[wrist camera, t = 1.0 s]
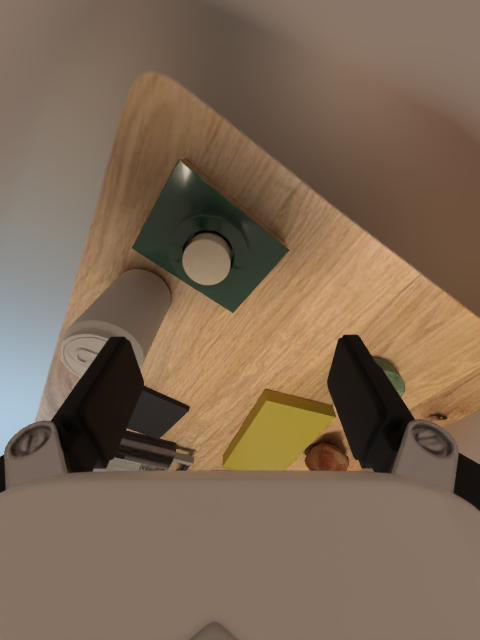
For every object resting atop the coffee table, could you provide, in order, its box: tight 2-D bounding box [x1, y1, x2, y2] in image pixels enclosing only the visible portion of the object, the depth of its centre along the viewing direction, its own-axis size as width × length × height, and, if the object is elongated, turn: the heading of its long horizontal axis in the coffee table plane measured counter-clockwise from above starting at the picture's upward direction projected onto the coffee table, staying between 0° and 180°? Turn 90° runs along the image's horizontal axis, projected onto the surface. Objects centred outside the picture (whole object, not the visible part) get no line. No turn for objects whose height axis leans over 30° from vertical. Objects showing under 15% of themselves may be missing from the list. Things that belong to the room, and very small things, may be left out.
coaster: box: [127, 387, 190, 439], centre depth 42 cm, size 11×11×1 cm
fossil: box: [305, 443, 349, 471], centre depth 47 cm, size 13×8×10 cm
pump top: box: [182, 233, 231, 285], centre depth 22 cm, size 4×4×2 cm
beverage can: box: [59, 269, 171, 379], centre depth 25 cm, size 6×6×12 cm
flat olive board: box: [223, 389, 336, 471], centre depth 46 cm, size 12×2×24 cm
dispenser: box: [132, 158, 289, 313], centre depth 24 cm, size 12×9×5 cm
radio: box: [92, 431, 194, 472], centre depth 51 cm, size 24×5×20 cm
